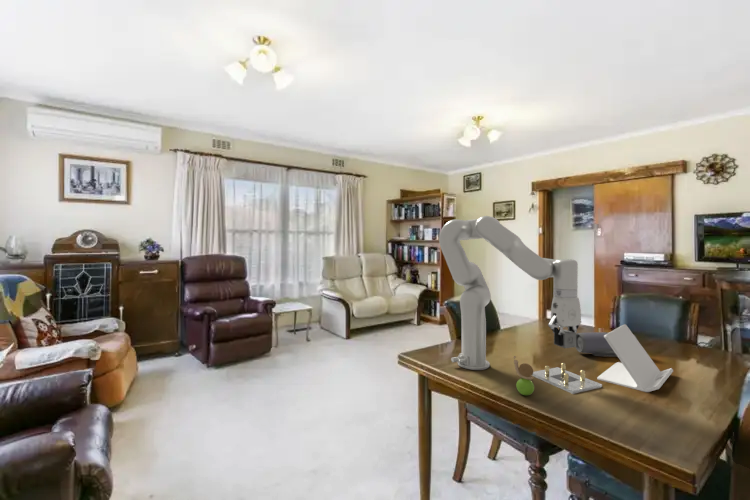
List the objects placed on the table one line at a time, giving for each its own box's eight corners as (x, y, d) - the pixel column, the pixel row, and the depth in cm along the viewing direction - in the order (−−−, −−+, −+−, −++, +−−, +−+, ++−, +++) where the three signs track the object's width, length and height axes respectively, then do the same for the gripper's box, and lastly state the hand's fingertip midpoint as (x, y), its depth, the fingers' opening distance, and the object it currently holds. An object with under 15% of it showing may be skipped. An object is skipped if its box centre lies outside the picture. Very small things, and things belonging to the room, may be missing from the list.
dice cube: (564, 348, 126) (564, 334, 125) (553, 344, 130) (554, 330, 130) (576, 346, 127) (576, 333, 127) (565, 343, 132) (565, 329, 132)
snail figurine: (516, 389, 122) (516, 354, 122) (536, 394, 118) (536, 358, 118) (510, 394, 118) (511, 358, 118) (531, 399, 114) (531, 362, 114)
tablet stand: (596, 380, 130) (597, 333, 130) (616, 363, 147) (617, 322, 146) (659, 396, 117) (660, 344, 116) (673, 376, 133) (674, 330, 133)
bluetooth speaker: (626, 352, 161) (626, 330, 160) (639, 359, 152) (640, 335, 151) (573, 351, 163) (573, 329, 163) (583, 358, 154) (583, 334, 153)
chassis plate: (572, 393, 118) (572, 380, 118) (530, 374, 135) (530, 363, 135) (602, 387, 123) (602, 374, 123) (557, 369, 140) (557, 358, 140)
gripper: (556, 296, 122) (556, 349, 122) (591, 293, 128) (591, 344, 128) (538, 293, 128) (538, 343, 129) (573, 290, 135) (572, 338, 135)
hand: (564, 343), depth 129 cm, fingers closed on dice cube, 5 cm apart
